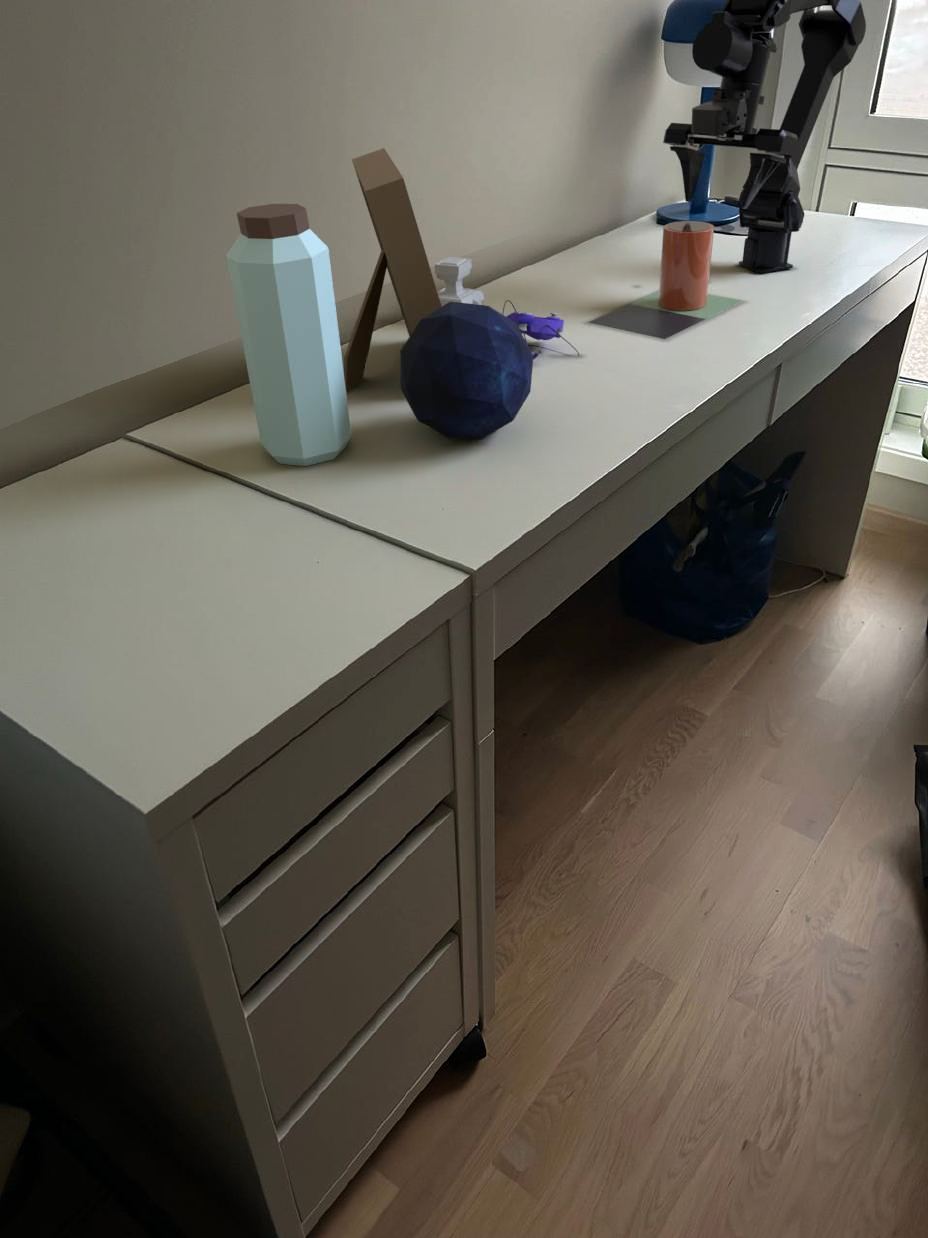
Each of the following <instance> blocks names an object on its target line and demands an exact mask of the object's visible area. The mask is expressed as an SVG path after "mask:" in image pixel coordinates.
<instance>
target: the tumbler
mask: <svg viewBox="0 0 928 1238" xmlns="http://www.w3.org/2000/svg"><path fill="white" fill-rule="evenodd" d="M714 232H715V225H713V224H711V223H709V222H704V221H698V220H697V221H696V220H682V221H673V222H669V223H667V224H665V225H663V228H662V243H661V257H660V269H659V270H660V273H659V285H658V286H659V287H658V292H659V299H658V304H659V305H660V306H661V307H663V308H666V309H670V310H679V311H687V310H696V309H700V308H703V307H704V306H706V304H707V295H709V285H710V283H709V282H710V274H711V263H712V254H713V242H714V235H715V233H714Z"/></svg>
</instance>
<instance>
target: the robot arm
mask: <svg viewBox="0 0 928 1238" xmlns="http://www.w3.org/2000/svg"><path fill="white" fill-rule="evenodd" d="M826 6H827V7H828V6H829V7H830V6H831V9H826V10H825V9H819V10H817V11H815V10H814V9H815V8H820V7H826ZM800 12H802V14H801V17H800V19H799V22H798V27H799V30H800V33H801V36H802V41H801V44H800V48H801V53H802V58H803V67H802V70H801V73H800V75H799V78H798V80H797V83H796V86H795V88H794V90H793V94H792V96H791V98H790V100H789V103H788V106H787V109H786V111H785V114H784V116H783V119H782V122H781V124H780V126H779V128H778V129H775V128H759V130H758V129H757V128H755V127H754V126H755V122H756V118H757V113H758V108H759V106H763V105H764V101H765V96H764V95H762V90H763V85H764V81H765V77H766V73H767V69H768V64H769V58H770V54H776V53H777V52H778V51H777V44H776V42H775V41H774V39H773V36H772V33H771V31H773V30H774V29H778V28H780V27H782V26H783V25H784V24H786V23H787V22H789V21H790V20H791V16H792V15H793V14H796V13H800ZM711 15H712V16H711V20H710V22H708V23H707V24H705V25H704V26H703V27H702V28H701V29H700V30H699V31H698V33H697V35H696V37H695V39H694V40H693V43H692V50H691V54H692V59H693V62H694V63H695V65H696V66H697V67H698V68H699V69H701V70H703V71H706V72H708V73H710V74H713V75H716V76H718V77H721V82H720V86H719V88H714V91H713V93H712V98H711V100H710V101H707V102H704V103H701V104H699V105H696V106H694V107H692V108H691V123H681V122H671V123H669V125H668V126H667V128H666V129H665V131H664V135H663V141H662V143H663V144H666V145H670V146H669V149H670V150H669V151H671V152H673V153H675V154H676V156H677V157H678V160H679V163H680V167H681V173H682V181H683V189H684V198H685V202H687V203H692V201H693V199H694V196H695V193H696V190H697V186H698V183H699V179H700V175H701V171H702V167H703V164H704V159H705V156H706V152H705V151H701V149H702V148H704V146H716V147H730V148H741V149H742V148H743V149H753V150H754V149H755V150H757V152H749V163H750V167H749V171H748V175H747V178H746V180H745V182H744V183H743V185H742V189H741V191H740V194H739V197H738V212H739V213H738V216H739V228H748V229H747V237H745V239H744V245H743V253H742V260H740V261H738V265H739V266H741V267H743V268H746V269H748V270H750V271H752V272H755V273H757V274H764V273H771V272H778V271H784V270H791V269H793V268H794V264H792V263H790V262H788V261H789V253H790V246H791V239H792V234H793V233H796V232H799V231H800V229H801V228H802V226H803V223H804V219H805V211H804V208H803V205H802V203H801V201H800V198H799V195H800V191H801V184H800V177H799V173H798V169H799V166H800V164H801V161H802V159H803V156H804V153H805V151H806V149H807V146H808V143H809V142H810V138H811V136H812V133H813V131H814V128H815V126H816V123H817V121H818V118H819V116H820V113H821V110H822V108H823V106H824V102H825V100H826V98H827V95H828V93H829V91H830V88H831V86H832V83H833V80H834V78H835V77H836V76H838V74H839V73H841V71H843V70H844V69H845V68H846V67H847V66H848V65H849V64H850V63H851V62H852V60H853V58H854V57H855V55H856V53H857V50H858V49H859V46H860V45H861V44H862V42H863V41H864V39H865V35H866V30H867V20H866V17H865V13H864V9H863V5H862V2H861V0H726V1H725V3H724V5H723V6H722V8H721V9H720V11H713V12H712V14H711ZM735 137H741V139H735Z"/></svg>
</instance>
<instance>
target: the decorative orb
mask: <svg viewBox="0 0 928 1238" xmlns="http://www.w3.org/2000/svg"><path fill="white" fill-rule="evenodd" d="M502 314H503V313H501V312H499V311H498V310H497V309H495V308H493V307H491V306H490V305H486V304H481V305H478V304H469V303H459V302H449V303H447V304H446V305H444V306H442V307H441V308H439V309H437V310H436V311H434V312H432V313H431V314H429V315H427V316H426V317H424V318H423V319H421V320H420V322H419V323H418V325H417V326H416V328H415V329H414V331H413V332H412V334H411V335H410V337H409V336H408V339H407V340H406V341H405V343H404V345H403V346H402V348H401V349H400V351H399V352H400V353H399V388H400V390H401V393H402V394H403V397H404V398H405V400H406V402H407V404H408V407H409V408H410V410H411V412H412V413H413V415H414V417H415V419H416V421H417V422H419V423H421V424H423V425H424V426H426V427H428V428H430V430H431V429H432V430H433V431H434V432H437V433H438V434H440V435H442V436H443V437H445V438H447V439H448V440H449V439H451V440H452V439H453V440H479V441H480V440H483V439H485V438H487V437H488V436H490V435H492V434H493V433H495V432H496V431H498V430H500V429H501V428H503V427H505V426H507V425H509V424H510V423H512V422H513V421H514V420H515V419H516V417H517V415H518V413H519V412H520V410H521V409H522V407H523V405H524V403H525V402H526V400H527V398H528V397H529V395H530V394H531V389H532V387H531V386H532V378H533V367H534V360H533V354H534V353H533V352H532V350H531V348H530V346H528V345H529V344H528V342H526V341H527V340H526V341H525V338H524V334H522V333H521V331H520V330H519V328H518V326H517V324H516V323H515V322H514V321H512V320H510V319H509V318H507V317H506V315H504V314H503V315H502ZM527 344H528V345H527Z"/></svg>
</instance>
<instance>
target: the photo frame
mask: <svg viewBox="0 0 928 1238" xmlns="http://www.w3.org/2000/svg"><path fill="white" fill-rule="evenodd" d="M351 161H352V165H353V167H354V171H355V174H356V177H357V181H358V183H359V186H360V189H361V192H362V196H363V199H364V202H365V205H366V208H367V211H368V214H369V217H370V220H371V223H372V226H373V229H374V232H375V235H376V238H377V242H378V245H379V247H380V250H381V251H380V254H379V256H378V259H377V262H376V265H375V268H374V270H373V273H372V276H371V279H370V281H369V285H368V287H367V290H366V293H365V296H364V299H363V301H362V305H361V307H360V310H359V313H358V316H357V319H356V321H355V324H354V326H353V330H352V333H351V335H350V339H349V341H348V343H347V347H346V349H345V353H344V355H343V371H344V379H345V387H346V391H348V390H349V389H350V388H352V387H353V386H355V385H356V384H358V383H360V381H363V379H364V376H365V371H366V367H367V361H368V357H369V353H370V352H369V351H370V347H371V343H372V338H373V334H374V328H375V323H376V319H377V315H378V309H379V305H380V301H381V296H382V291H383V287H384V282H385V278H386V273H387V272H388V275H389V278H390V282H391V284H392V287H393V290H394V291H393V292H394V293H395V296H396V300H397V303H398V306H399V308H400V312H401V316H402V319H403V323H404V325H405V328H406V331H407V334H408V338H409V337H410V335H411V334H412V332H413V331H414V329H415V328H416V326H417V325H418V323H419V322H420V320H421V319H423V318H424V317H426V316H427V315H429V314H431V313H432V312H434V311H436V310H437V309H439V308H441V307H442V306H441V303H440V299H439V296H438V293H437V292H438V290H437V286H436V283H435V279H434V276H433V272H432V269H431V266H430V262H429V259H428V256H427V253H426V250H425V245H424V243H423V240H422V235H421V233H420V230H419V226H418V223H417V219H416V216H415V213H414V209H413V206H412V203H411V199H410V196H409V191H408V189H407V186H406V183H405V179H404V177H403V175H402V174H401V172H400V170H399V169H398V167H397V166H396V164H395V162H394V161H393V160H392V158H391V156H390V155H389V153H388V151H387V150H386V148H385V147H383V148H380V149H378V150H375V151H372V152H368V153H366V154H362V155H360V156H357V157H354V158H352V159H351Z"/></svg>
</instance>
